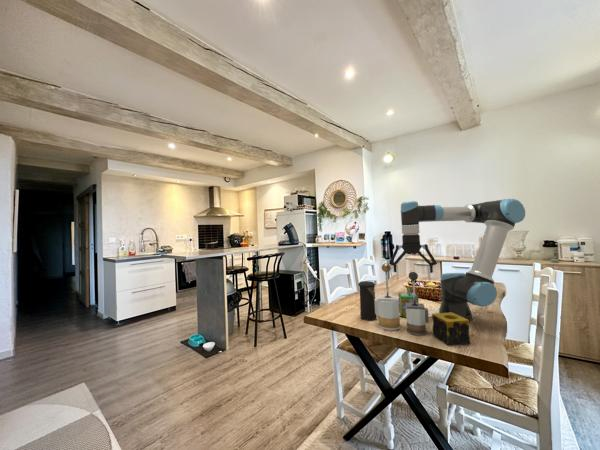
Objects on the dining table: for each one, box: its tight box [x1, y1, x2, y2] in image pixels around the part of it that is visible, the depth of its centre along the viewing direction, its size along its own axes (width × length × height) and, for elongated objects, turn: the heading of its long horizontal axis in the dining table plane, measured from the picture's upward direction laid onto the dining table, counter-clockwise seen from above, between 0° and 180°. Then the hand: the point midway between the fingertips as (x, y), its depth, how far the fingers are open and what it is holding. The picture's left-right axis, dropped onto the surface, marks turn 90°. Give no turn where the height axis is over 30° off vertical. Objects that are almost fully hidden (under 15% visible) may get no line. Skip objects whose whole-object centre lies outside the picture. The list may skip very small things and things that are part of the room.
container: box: [357, 280, 378, 321], centre depth 136 cm, size 9×9×20 cm
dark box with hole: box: [431, 312, 471, 346], centre depth 106 cm, size 10×10×10 cm
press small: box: [405, 303, 430, 337], centre depth 115 cm, size 10×8×12 cm
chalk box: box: [397, 287, 420, 318], centre depth 137 cm, size 9×9×15 cm
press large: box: [374, 294, 402, 331], centre depth 123 cm, size 12×10×14 cm
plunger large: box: [381, 263, 392, 298], centre depth 124 cm, size 4×4×18 cm
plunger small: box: [408, 271, 419, 306], centre depth 116 cm, size 4×4×16 cm
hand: (413, 279), depth 116 cm, fingers open, 13 cm apart
